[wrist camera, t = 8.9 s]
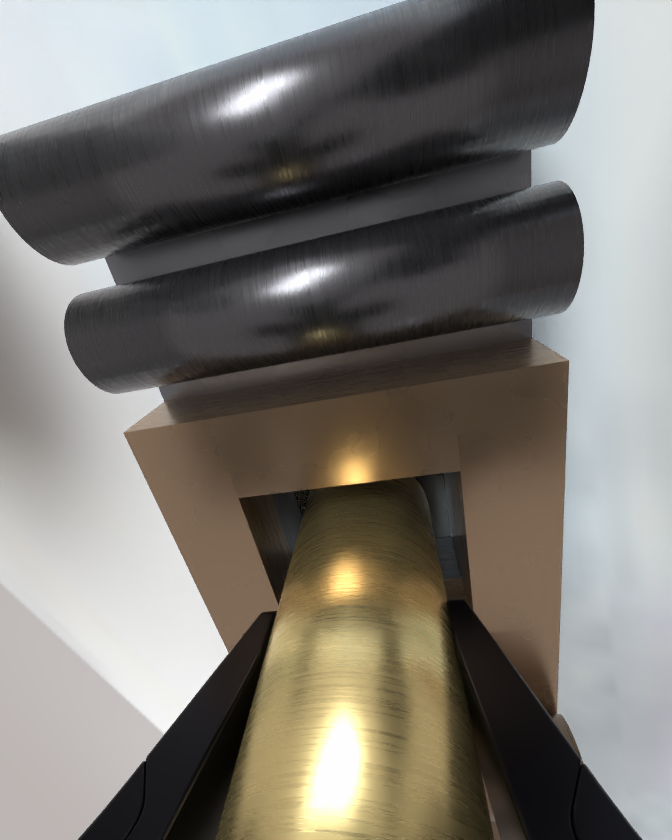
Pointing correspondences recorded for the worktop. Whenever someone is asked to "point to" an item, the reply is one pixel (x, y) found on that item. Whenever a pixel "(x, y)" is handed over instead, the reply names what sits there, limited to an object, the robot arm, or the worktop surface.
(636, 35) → the worktop surface
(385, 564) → the brass pin
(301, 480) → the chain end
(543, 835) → the robot arm
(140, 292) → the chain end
